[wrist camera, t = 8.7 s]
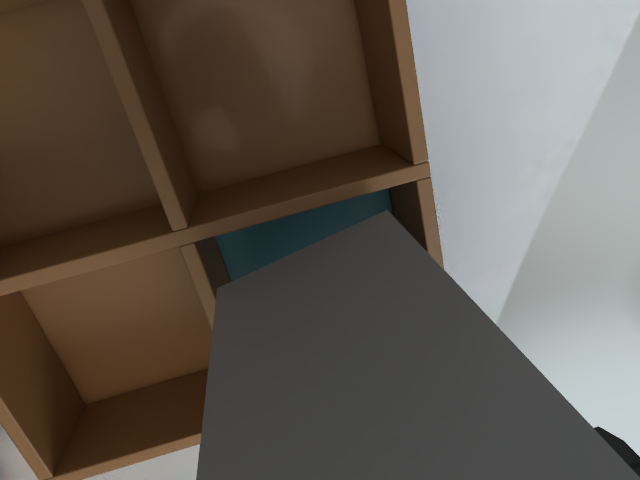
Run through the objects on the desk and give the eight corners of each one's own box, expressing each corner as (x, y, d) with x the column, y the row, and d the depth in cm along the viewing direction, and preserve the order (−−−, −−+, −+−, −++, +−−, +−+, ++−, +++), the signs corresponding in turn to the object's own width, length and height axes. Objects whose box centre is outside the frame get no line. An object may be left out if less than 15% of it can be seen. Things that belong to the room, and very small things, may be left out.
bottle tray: (-137, 30, 17) (-279, 21, 12) (349, -89, 18) (387, -138, 13) (83, 408, 25) (45, 491, 20) (418, 309, 26) (458, 366, 21)
